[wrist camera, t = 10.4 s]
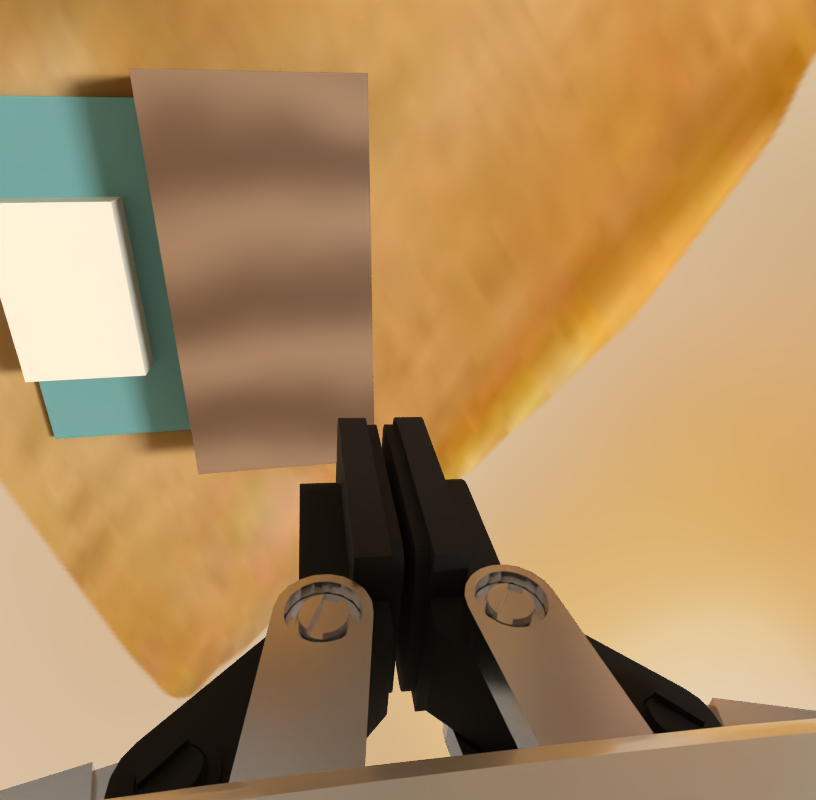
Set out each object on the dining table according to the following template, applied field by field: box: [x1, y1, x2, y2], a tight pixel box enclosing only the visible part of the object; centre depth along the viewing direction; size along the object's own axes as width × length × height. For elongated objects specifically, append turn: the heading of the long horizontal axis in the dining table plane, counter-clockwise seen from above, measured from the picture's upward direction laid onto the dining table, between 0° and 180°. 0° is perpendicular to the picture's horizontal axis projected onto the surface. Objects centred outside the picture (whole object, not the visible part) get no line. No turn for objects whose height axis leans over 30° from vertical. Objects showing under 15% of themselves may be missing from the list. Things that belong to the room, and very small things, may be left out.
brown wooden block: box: [129, 68, 374, 474], centre depth 31 cm, size 20×10×4 cm, turn 179°
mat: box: [0, 96, 191, 439], centre depth 31 cm, size 18×8×1 cm, turn 179°
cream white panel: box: [0, 197, 154, 382], centre depth 30 cm, size 9×6×2 cm, turn 179°
